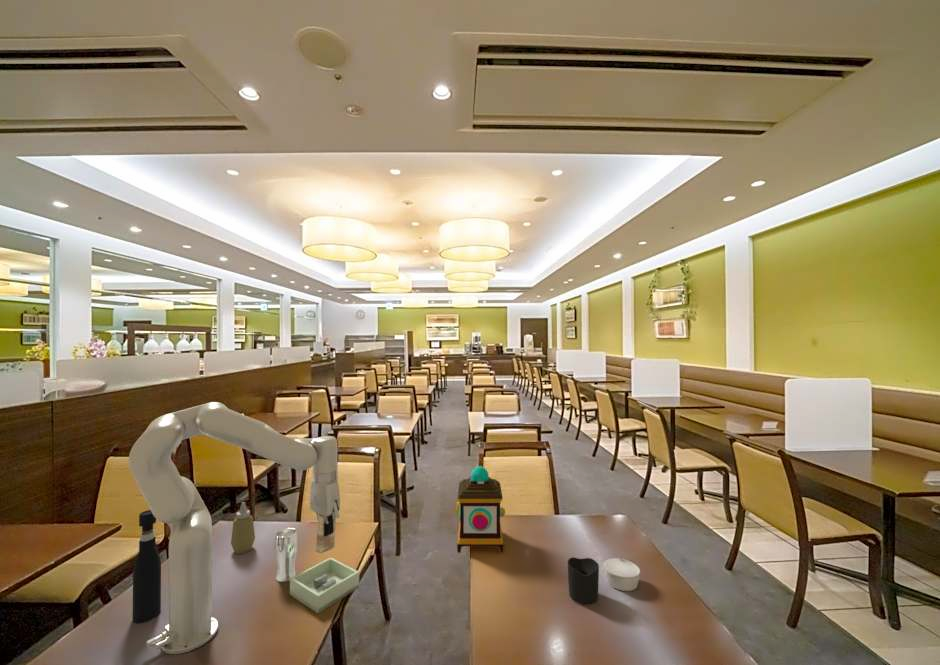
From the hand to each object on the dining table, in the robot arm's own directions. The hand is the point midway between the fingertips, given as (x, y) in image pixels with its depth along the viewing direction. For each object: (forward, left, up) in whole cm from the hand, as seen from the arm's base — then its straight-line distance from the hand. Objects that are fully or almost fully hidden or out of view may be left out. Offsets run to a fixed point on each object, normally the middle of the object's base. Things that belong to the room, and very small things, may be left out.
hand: (326, 532), depth 129 cm
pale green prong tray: (0, 0, -18) cm, 18 cm away
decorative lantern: (+54, -23, -19) cm, 62 cm away
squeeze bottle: (-3, +48, -19) cm, 51 cm away
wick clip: (0, 0, -18) cm, 18 cm away
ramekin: (+59, -76, -19) cm, 98 cm away
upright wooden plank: (0, 0, -5) cm, 5 cm away
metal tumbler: (-3, +18, -19) cm, 26 cm away
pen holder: (+45, -68, -19) cm, 84 cm away
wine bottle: (-37, +33, -19) cm, 53 cm away
